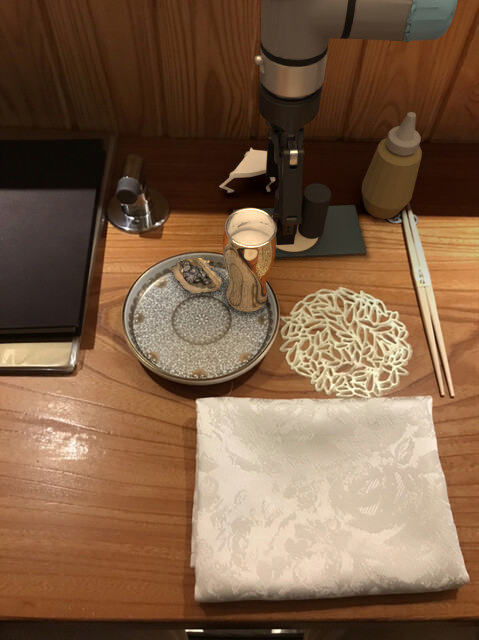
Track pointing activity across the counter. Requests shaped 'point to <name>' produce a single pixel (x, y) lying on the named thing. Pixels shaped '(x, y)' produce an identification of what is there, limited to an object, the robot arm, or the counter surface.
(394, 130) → the squeeze bottle
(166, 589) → the counter surface
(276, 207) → the black post
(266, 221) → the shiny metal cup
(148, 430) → the counter surface
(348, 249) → the board
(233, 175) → the origami figure
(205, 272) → the pouch of beans
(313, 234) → the black cylinder
